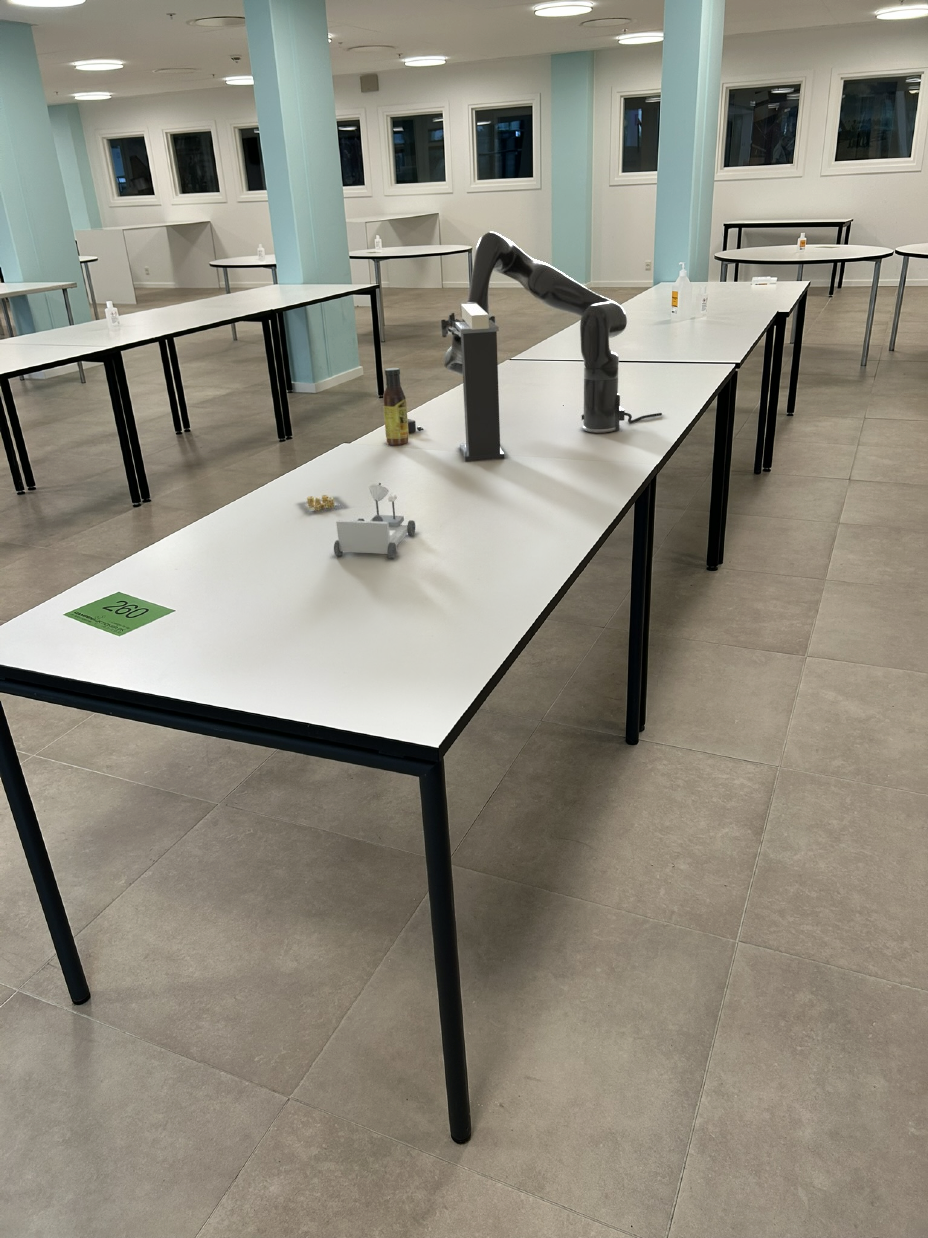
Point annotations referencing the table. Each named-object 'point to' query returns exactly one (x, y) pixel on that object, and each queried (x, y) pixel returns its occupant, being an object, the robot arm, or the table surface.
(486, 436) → the dark grey pillar
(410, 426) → the wireless earbuds
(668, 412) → the table surface
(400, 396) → the sauce bottle
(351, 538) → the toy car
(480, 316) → the cream rectangular bar
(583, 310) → the robot arm
